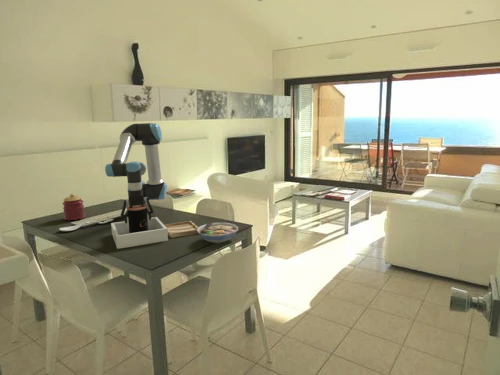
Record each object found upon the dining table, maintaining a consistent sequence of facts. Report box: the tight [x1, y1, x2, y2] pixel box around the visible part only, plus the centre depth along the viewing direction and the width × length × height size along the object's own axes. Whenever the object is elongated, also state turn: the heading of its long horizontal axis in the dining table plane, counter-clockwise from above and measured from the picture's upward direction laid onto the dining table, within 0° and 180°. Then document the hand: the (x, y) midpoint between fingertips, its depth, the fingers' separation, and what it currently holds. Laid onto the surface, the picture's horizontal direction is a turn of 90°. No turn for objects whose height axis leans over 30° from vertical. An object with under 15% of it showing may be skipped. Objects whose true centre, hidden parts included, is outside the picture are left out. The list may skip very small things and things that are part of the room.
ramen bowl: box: [197, 219, 239, 244], centre depth 201 cm, size 25×23×8 cm
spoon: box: [58, 216, 114, 232], centre depth 233 cm, size 9×32×4 cm, turn 133°
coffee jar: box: [126, 205, 149, 234], centre depth 209 cm, size 11×11×18 cm
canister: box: [62, 193, 86, 222], centre depth 251 cm, size 13×13×18 cm
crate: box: [110, 216, 169, 250], centre depth 210 cm, size 27×27×7 cm
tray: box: [164, 220, 199, 239], centre depth 221 cm, size 20×18×2 cm
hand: (138, 226), depth 210 cm, fingers closed on coffee jar, 11 cm apart
